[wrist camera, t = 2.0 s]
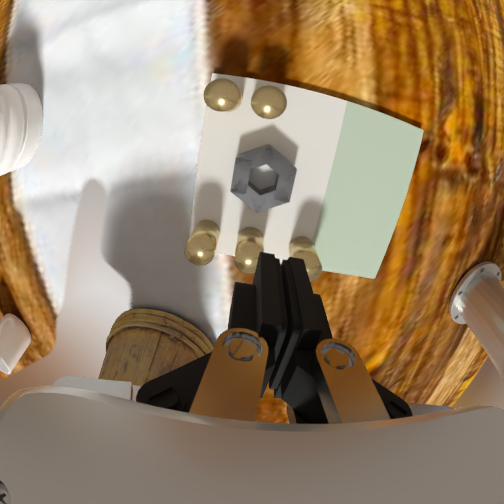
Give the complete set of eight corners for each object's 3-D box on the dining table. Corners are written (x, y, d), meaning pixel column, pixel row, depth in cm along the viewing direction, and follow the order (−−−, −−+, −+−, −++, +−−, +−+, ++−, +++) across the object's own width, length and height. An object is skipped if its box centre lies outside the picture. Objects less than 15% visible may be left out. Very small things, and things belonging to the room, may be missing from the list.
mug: (32, 317, 42) (5, 353, 32) (32, 347, 46) (12, 380, 37) (3, 295, 40) (-25, 326, 30) (7, 327, 44) (-16, 357, 35)
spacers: (349, 110, 25) (367, 111, 21) (309, 260, 34) (317, 284, 29) (215, 82, 24) (206, 76, 20) (193, 241, 33) (183, 262, 28)
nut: (297, 149, 28) (301, 152, 26) (283, 210, 31) (285, 218, 29) (240, 138, 27) (238, 140, 25) (229, 201, 30) (227, 207, 28)
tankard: (241, 351, 42) (231, 507, 20) (165, 400, 50) (141, 506, 28) (143, 284, 37) (64, 447, 15) (90, 353, 45) (41, 460, 23)
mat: (420, 129, 26) (423, 130, 25) (372, 275, 35) (374, 278, 35) (213, 74, 25) (212, 73, 24) (189, 245, 34) (188, 248, 33)
